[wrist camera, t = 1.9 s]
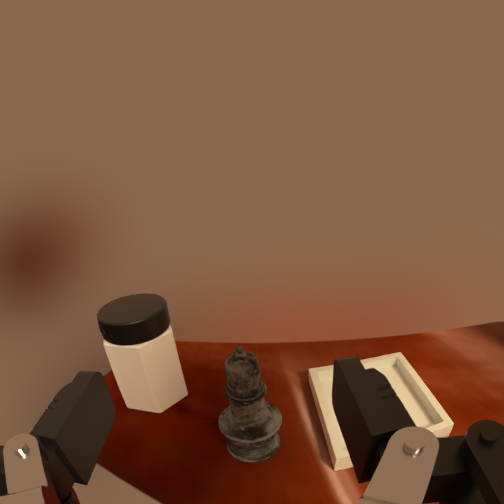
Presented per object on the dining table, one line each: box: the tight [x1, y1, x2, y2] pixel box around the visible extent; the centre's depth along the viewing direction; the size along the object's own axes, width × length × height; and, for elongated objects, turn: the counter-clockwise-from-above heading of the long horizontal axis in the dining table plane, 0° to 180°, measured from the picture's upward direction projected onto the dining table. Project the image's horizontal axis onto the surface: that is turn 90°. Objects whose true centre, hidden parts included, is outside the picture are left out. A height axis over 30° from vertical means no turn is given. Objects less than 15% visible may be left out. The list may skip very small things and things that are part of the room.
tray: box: [309, 352, 454, 471], centre depth 29 cm, size 12×14×2 cm
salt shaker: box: [218, 345, 282, 463], centre depth 25 cm, size 6×6×12 cm
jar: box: [97, 294, 188, 413], centre depth 34 cm, size 9×8×12 cm
